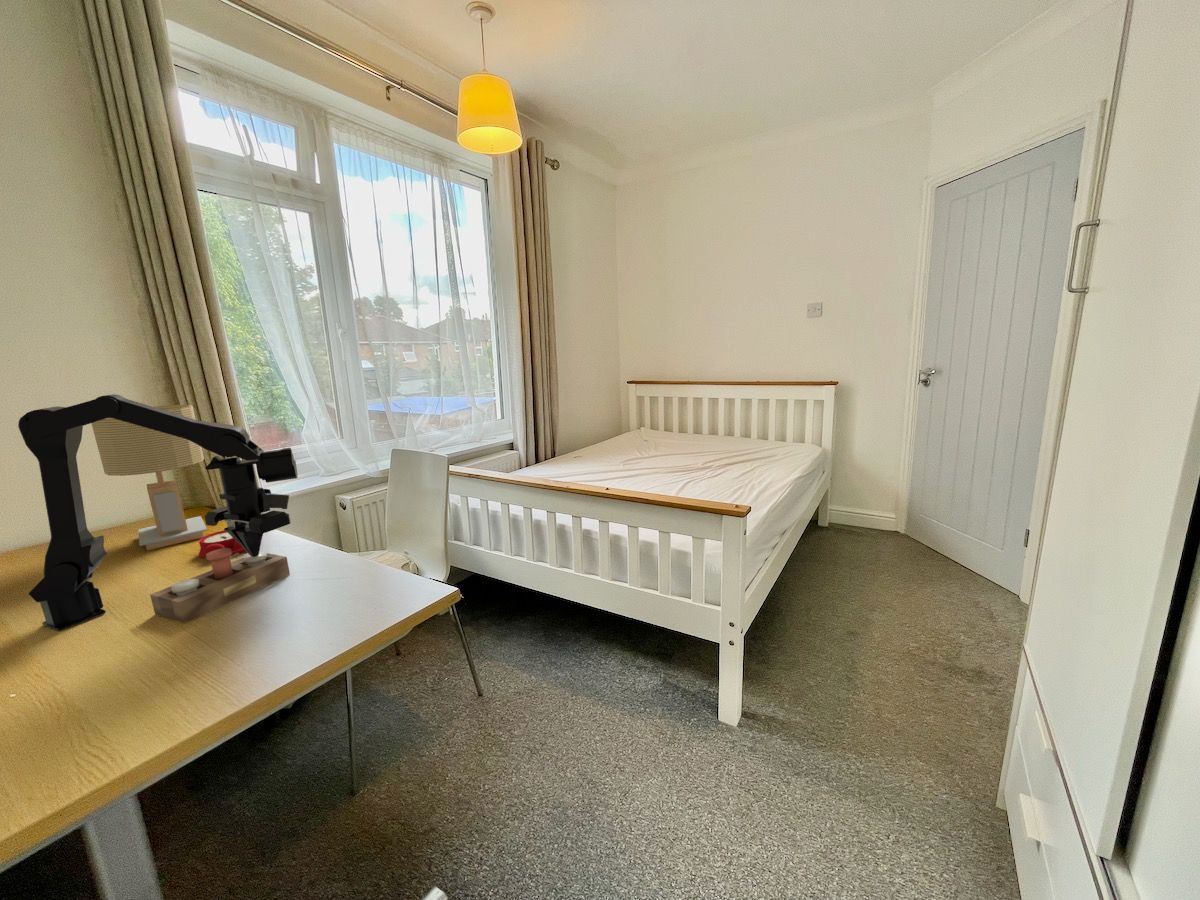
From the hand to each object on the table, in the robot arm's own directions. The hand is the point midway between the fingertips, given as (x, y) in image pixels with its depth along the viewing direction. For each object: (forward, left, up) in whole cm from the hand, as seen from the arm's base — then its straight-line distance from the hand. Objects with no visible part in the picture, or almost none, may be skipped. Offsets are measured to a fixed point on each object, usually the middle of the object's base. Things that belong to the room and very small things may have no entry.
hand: (255, 556), depth 102 cm
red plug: (-7, 0, -1) cm, 7 cm away
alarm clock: (+8, +24, -6) cm, 26 cm away
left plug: (-13, 0, -5) cm, 14 cm away
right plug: (0, 0, -5) cm, 5 cm away
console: (-7, 0, -5) cm, 8 cm away
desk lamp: (+9, +50, -6) cm, 51 cm away
